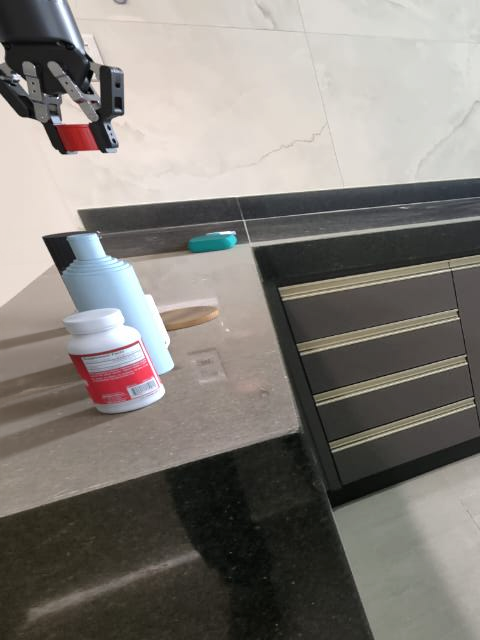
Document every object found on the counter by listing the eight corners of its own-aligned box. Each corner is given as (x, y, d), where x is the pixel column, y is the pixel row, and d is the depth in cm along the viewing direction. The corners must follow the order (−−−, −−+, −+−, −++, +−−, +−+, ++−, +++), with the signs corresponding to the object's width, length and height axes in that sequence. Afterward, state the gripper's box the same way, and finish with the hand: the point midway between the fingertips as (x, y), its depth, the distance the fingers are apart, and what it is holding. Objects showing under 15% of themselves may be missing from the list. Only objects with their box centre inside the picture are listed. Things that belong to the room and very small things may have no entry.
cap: (111, 149, 70) (101, 123, 69) (70, 151, 67) (58, 124, 66) (104, 149, 72) (93, 124, 71) (63, 151, 69) (52, 125, 68)
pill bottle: (112, 396, 64) (69, 310, 60) (174, 386, 66) (137, 302, 62) (87, 420, 59) (39, 327, 55) (155, 408, 61) (114, 318, 57)
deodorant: (108, 316, 94) (69, 231, 88) (140, 315, 94) (102, 230, 88) (74, 327, 89) (30, 238, 83) (108, 327, 88) (66, 237, 82)
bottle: (100, 386, 67) (28, 242, 60) (130, 366, 73) (68, 232, 65) (158, 379, 69) (95, 237, 61) (183, 360, 74) (129, 228, 67)
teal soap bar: (187, 253, 143) (200, 241, 163) (235, 248, 148) (242, 236, 168) (183, 242, 142) (196, 231, 162) (232, 237, 147) (239, 227, 167)
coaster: (131, 333, 85) (129, 328, 85) (165, 314, 94) (163, 309, 94) (202, 326, 87) (200, 321, 87) (229, 308, 96) (227, 303, 96)
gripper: (115, 6, 68) (167, 150, 75) (-21, 5, 65) (47, 154, 72) (72, -7, 61) (134, 152, 68) (-81, -10, 58) (0, 157, 65)
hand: (89, 152), depth 70 cm, fingers closed on cap, 4 cm apart
